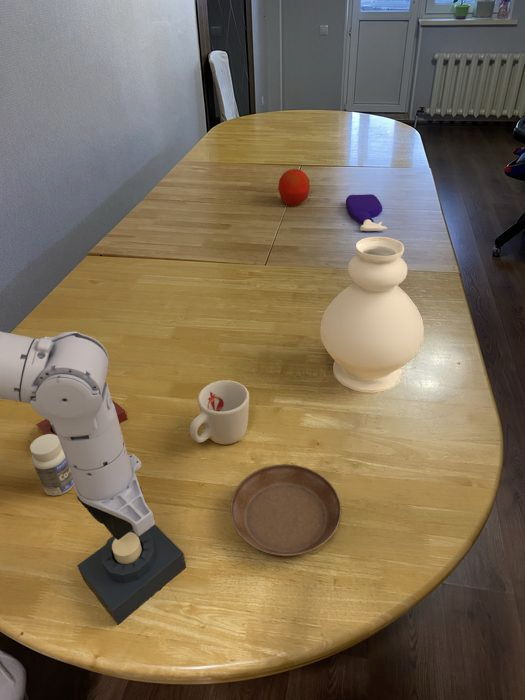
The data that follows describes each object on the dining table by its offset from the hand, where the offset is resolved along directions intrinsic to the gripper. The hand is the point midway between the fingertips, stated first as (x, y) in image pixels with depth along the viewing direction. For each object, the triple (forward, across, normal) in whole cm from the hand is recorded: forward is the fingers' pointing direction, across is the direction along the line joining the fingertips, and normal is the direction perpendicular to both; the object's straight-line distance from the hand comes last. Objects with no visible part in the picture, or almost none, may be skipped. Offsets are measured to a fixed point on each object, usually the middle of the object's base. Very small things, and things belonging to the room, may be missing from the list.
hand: (122, 531), depth 60 cm
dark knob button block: (+9, 0, 0) cm, 9 cm away
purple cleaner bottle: (+9, +48, -115) cm, 125 cm away
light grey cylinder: (+5, +27, -5) cm, 28 cm away
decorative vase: (+9, +3, -53) cm, 54 cm away
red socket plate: (+9, +29, -9) cm, 32 cm away
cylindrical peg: (+4, 0, 0) cm, 4 cm away
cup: (+9, +10, -23) cm, 27 cm away
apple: (+9, +73, -110) cm, 132 cm away
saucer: (+9, -8, -19) cm, 22 cm away
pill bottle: (+9, +20, 0) cm, 22 cm away
